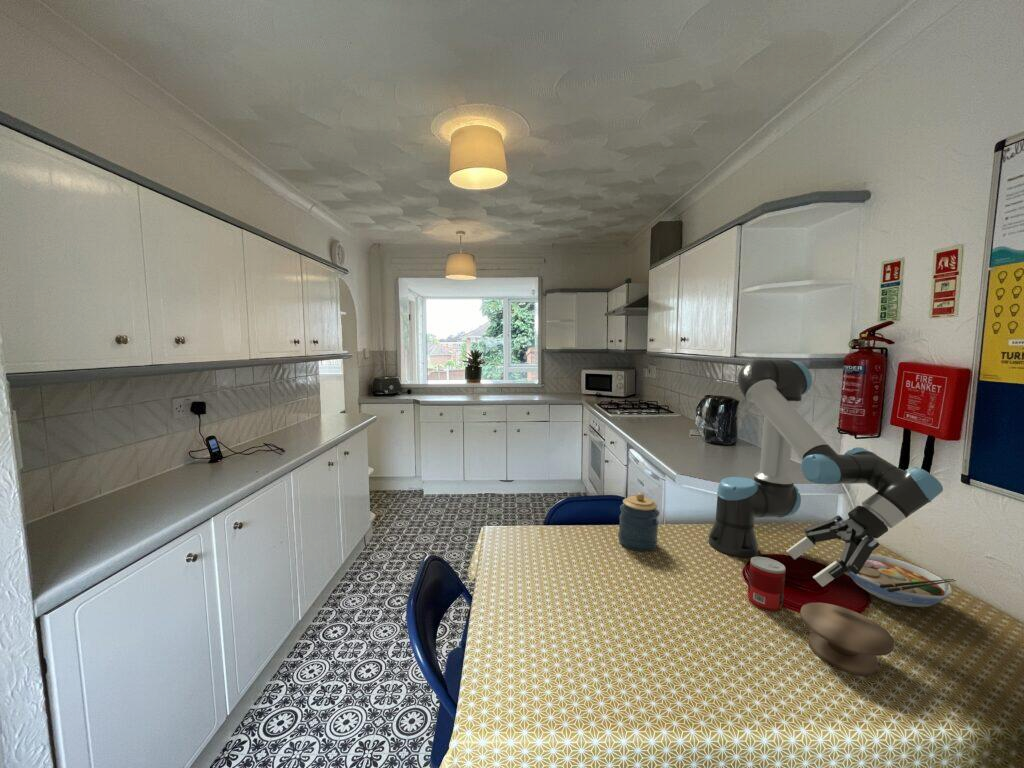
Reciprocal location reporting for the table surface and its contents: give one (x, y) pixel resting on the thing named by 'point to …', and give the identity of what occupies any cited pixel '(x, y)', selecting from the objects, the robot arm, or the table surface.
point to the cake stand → (845, 638)
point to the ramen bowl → (901, 582)
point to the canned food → (766, 583)
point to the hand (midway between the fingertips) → (802, 567)
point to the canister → (638, 523)
